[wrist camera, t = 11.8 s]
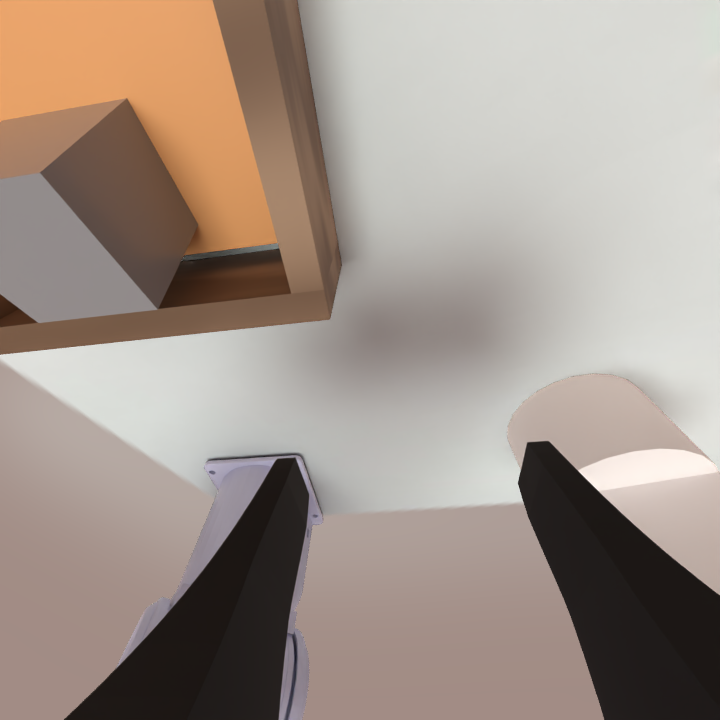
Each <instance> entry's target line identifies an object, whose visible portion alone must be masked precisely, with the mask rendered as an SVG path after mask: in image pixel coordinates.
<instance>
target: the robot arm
mask: <svg viewBox="0 0 720 720" xmlns="http://www.w3.org/2000/svg"><path fill="white" fill-rule="evenodd" d="M204 469H205V470H206V472H207V473H208V475H209V477H210V478H211V480H212V481H213V483H214V485H215V486H216V488H217V489H218V493H217V495H216V497H215V500H214V502H213V505H212V507H211V509H210V512H209V515H208V517H207V519H206V522H205V524H204V526H203V529H202V531H201V534H200V536H199V539H198V541H197V543H196V546H195V548H194V550H193V553H192V555H191V558H190V560H189V562H188V565H187V567H186V570H185V572H184V574H183V577H182V579H181V582H180V584H179V586H178V589H177V591H176V593H175V594H174V596H173V597H172V598H171V600H170V599H168V598H164V597H163V598H159V600H158V601H157V602H155V603H153V604H151V605H150V606H148V607H147V608H146V609H145V611H144V613H143V614H142V616H141V618H140V620H139V622H138V624H137V626H136V628H135V630H134V632H133V634H132V636H131V638H130V640H129V642H128V644H127V646H126V648H125V651H124V652H123V654H122V657H121V659H120V661H119V663H118V665H117V667H116V669H115V670H114V671H113V672H112V673H111V674H110V675H109V677H107V679H106V680H105V681H104V682H103V683H102V684H100V686H98V687H97V688H96V690H95V691H93V692H92V693H91V694H90V695H89V696H88V697H87V698H86V699H85V700H84V701H83V702H82V703H81V704H80V705H79V706H78V707H77V708H76V709H75V710H74V711H72V712H71V713H70V715H68V716H67V717H66V718H65V719H64V720H302V718H303V714H304V710H305V705H306V699H307V692H308V683H309V658H308V651H307V648H306V645H305V641H304V637H303V635H302V633H301V632H300V631H299V630H298V629H295V621H296V614H297V612H296V611H294V610H295V609H296V607H297V605H298V603H299V601H300V598H301V595H302V591H303V585H304V578H305V571H306V565H307V558H308V551H309V544H310V537H311V530H312V525H319V524H322V523H323V516H322V513H321V510H320V508H319V505H318V502H317V499H316V496H315V494H314V491H313V488H312V485H311V482H310V480H309V477H308V474H307V471H306V468H305V466H304V463H303V460H302V458H301V457H300V456H297V455H291V456H276V457H261V458H246V459H231V460H216V461H207V462H206V463H205V465H204ZM518 485H519V488H520V492H521V495H522V498H523V502H524V505H525V508H526V511H527V514H528V517H529V520H530V522H531V524H532V527H533V529H534V531H535V534H536V536H537V538H538V541H539V543H540V545H541V548H542V550H543V552H544V555H545V557H546V559H547V561H548V564H549V566H550V568H551V570H552V573H553V575H554V577H555V579H556V582H557V584H558V586H559V589H560V591H561V593H562V596H563V598H564V600H565V603H566V605H567V608H568V611H569V613H570V616H571V618H572V622H573V624H574V627H575V630H576V633H577V636H578V639H579V642H580V645H581V648H582V651H583V653H584V657H585V660H586V663H587V666H588V669H589V672H590V675H591V678H592V681H593V684H594V688H595V691H596V694H597V697H598V700H599V703H600V706H601V710H602V713H603V716H604V720H720V595H719V594H718V593H716V592H715V591H714V590H712V589H711V588H710V587H708V586H707V585H706V584H704V583H703V582H702V581H701V580H699V579H698V578H697V577H696V576H694V575H693V574H692V573H691V572H689V571H688V570H687V569H686V568H684V567H683V566H682V565H681V564H680V563H678V562H677V561H676V560H675V559H673V558H672V557H671V556H670V555H669V554H667V553H666V552H665V551H664V550H663V549H662V548H660V547H659V546H658V545H657V544H656V543H655V542H653V541H652V540H651V539H650V538H649V537H648V536H647V535H645V534H644V533H643V532H642V531H641V530H640V529H639V528H637V527H636V526H635V525H634V524H633V523H632V522H631V521H630V520H629V519H628V518H626V517H625V516H624V515H623V514H622V513H621V512H620V511H619V510H618V509H617V508H616V507H615V506H614V505H613V504H611V503H610V502H609V501H608V500H607V499H606V498H605V497H604V496H603V495H602V494H601V493H600V492H599V491H598V490H597V489H596V488H595V487H594V486H593V485H592V484H591V483H590V482H589V481H588V480H587V479H586V478H585V477H584V476H583V475H582V474H581V473H580V472H579V471H578V470H577V469H576V468H575V467H574V466H573V465H572V464H571V463H570V462H569V461H568V460H567V459H566V458H565V457H564V456H563V455H562V454H561V453H560V452H559V451H558V450H557V449H556V448H555V447H554V446H553V445H552V443H550V442H549V441H537V442H527V445H526V449H525V454H524V458H523V463H522V468H521V472H520V477H519V481H518Z"/></svg>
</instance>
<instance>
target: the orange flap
mask: <svg viewBox="0 0 720 720" xmlns="http://www.w3.org/2000/svg"><path fill="white" fill-rule="evenodd" d="M125 98H127V99H128V101H129V103H130V104H131V106H132V108H133V110H134V111H135V113H136V115H137V117H138V119H139V120H140V122H141V124H142V126H143V127H144V129H145V131H146V133H147V135H148V136H149V138H150V140H151V142H152V143H153V145H154V147H155V149H156V150H157V152H158V154H159V156H160V158H161V159H162V161H163V163H164V165H165V166H166V168H167V170H168V172H169V173H170V175H171V177H172V179H173V181H174V182H175V184H176V186H177V188H178V189H179V191H180V193H181V195H182V196H183V198H184V200H185V202H186V204H187V205H188V207H189V209H190V211H191V212H192V214H193V216H194V218H195V219H196V221H197V223H198V227H197V229H196V231H195V233H194V235H193V237H192V239H191V241H190V244H189V246H188V248H187V250H186V252H185V254H184V255H190V254H198V253H206V252H213V251H221V250H228V249H236V248H244V247H251V246H259V245H267V244H274V243H278V242H277V238H276V234H275V231H274V227H273V223H272V220H271V216H270V212H269V208H268V205H267V201H266V197H265V194H264V190H263V186H262V182H261V179H260V175H259V171H258V168H257V164H256V160H255V156H254V153H253V149H252V145H251V141H250V138H249V134H248V130H247V127H246V123H245V119H244V115H243V112H242V108H241V104H240V101H239V97H238V93H237V89H236V86H235V82H234V78H233V75H232V71H231V67H230V63H229V60H228V56H227V52H226V48H225V45H224V41H223V37H222V34H221V30H220V26H219V22H218V19H217V15H216V11H215V8H214V4H213V0H0V122H1V121H3V120H8V119H13V118H19V117H24V116H30V115H36V114H41V113H47V112H52V111H58V110H64V109H69V108H75V107H80V106H86V105H91V104H97V103H103V102H108V101H114V100H119V99H125Z"/></svg>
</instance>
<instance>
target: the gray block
mask: <svg viewBox="0 0 720 720" xmlns="http://www.w3.org/2000/svg"><path fill="white" fill-rule="evenodd" d="M197 227H198V223H197V221H196V219H195V218H194V216H193V214H192V212H191V211H190V209H189V207H188V205H187V204H186V202H185V200H184V198H183V196H182V195H181V193H180V191H179V189H178V188H177V186H176V184H175V182H174V181H173V179H172V177H171V175H170V173H169V172H168V170H167V168H166V166H165V165H164V163H163V161H162V159H161V158H160V156H159V154H158V152H157V150H156V149H155V147H154V145H153V143H152V142H151V140H150V138H149V136H148V135H147V133H146V131H145V129H144V127H143V126H142V124H141V122H140V120H139V119H138V117H137V115H136V113H135V111H134V110H133V108H132V106H131V104H130V103H129V101H128V99H127V98H125V99H119V100H114V101H108V102H103V103H97V104H91V105H86V106H80V107H75V108H69V109H64V110H58V111H52V112H47V113H41V114H36V115H30V116H24V117H19V118H13V119H8V120H3V121H1V122H0V294H1V295H2V296H3V297H5V298H6V299H7V300H9V301H10V302H11V303H13V304H14V305H15V306H17V307H18V308H19V309H21V310H22V311H23V312H25V313H26V314H27V315H29V316H30V317H31V318H32V319H34V320H35V321H36V322H38V323H44V322H53V321H62V320H70V319H79V318H88V317H97V316H106V315H115V314H124V313H133V312H141V311H150V310H158V308H159V306H160V304H161V302H162V300H163V298H164V296H165V294H166V291H167V289H168V287H169V285H170V283H171V281H172V279H173V277H174V275H175V273H176V271H177V269H178V266H179V264H180V262H181V260H182V258H183V256H184V254H185V252H186V250H187V248H188V246H189V244H190V241H191V239H192V237H193V235H194V233H195V231H196V229H197Z"/></svg>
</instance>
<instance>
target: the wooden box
mask: <svg viewBox="0 0 720 720" xmlns="http://www.w3.org/2000/svg"><path fill="white" fill-rule="evenodd" d="M213 4H214V8H215V11H216V15H217V19H218V22H219V26H220V30H221V34H222V37H223V41H224V45H225V48H226V52H227V56H228V60H229V63H230V67H231V71H232V75H233V78H234V82H235V86H236V89H237V93H238V97H239V101H240V104H241V108H242V112H243V115H244V119H245V123H246V127H247V130H248V134H249V138H250V141H251V145H252V149H253V153H254V156H255V160H256V164H257V168H258V171H259V175H260V179H261V182H262V186H263V190H264V194H265V197H266V201H267V205H268V208H269V212H270V216H271V220H272V223H273V227H274V231H275V234H276V238H277V242H278V246H279V249H276V250H268V251H261V252H253V253H245V254H237V255H230V256H222V257H214V258H207V259H199V260H191V261H183V262H180V264H179V266H178V269H177V271H176V273H175V275H174V277H173V279H172V281H171V283H170V285H169V287H168V289H167V291H166V294H165V296H164V298H163V300H162V302H161V304H160V306H159V308H158V310H150V311H141V312H133V313H124V314H115V315H106V316H97V317H88V318H79V319H70V320H62V321H53V322H44V323H38V322H36V321H35V320H34V319H32V318H31V317H30V316H29V315H27V314H26V313H25V312H23V311H22V310H21V309H19V308H18V307H17V306H15V305H14V304H13V303H11V302H10V301H9V300H7V299H6V298H5V297H3V296H2V295H1V294H0V355H1V354H10V353H20V352H29V351H38V350H48V349H57V348H67V347H76V346H85V345H95V344H104V343H114V342H123V341H132V340H142V339H151V338H160V337H170V336H179V335H189V334H198V333H207V332H217V331H226V330H236V329H245V328H254V327H264V326H273V325H283V324H292V323H301V322H311V321H320V320H329V319H330V318H331V313H332V308H333V303H334V299H335V294H336V289H337V284H338V280H339V275H340V270H341V265H342V264H341V258H340V252H339V246H338V240H337V234H336V228H335V222H334V216H333V211H332V205H331V199H330V193H329V187H328V181H327V175H326V169H325V163H324V157H323V151H322V145H321V139H320V133H319V127H318V121H317V115H316V110H315V104H314V98H313V92H312V86H311V80H310V74H309V68H308V62H307V56H306V50H305V44H304V38H303V32H302V26H301V20H300V14H299V9H298V3H297V0H213Z"/></svg>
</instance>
